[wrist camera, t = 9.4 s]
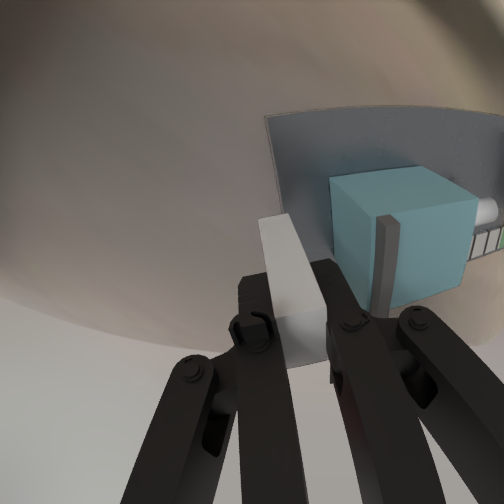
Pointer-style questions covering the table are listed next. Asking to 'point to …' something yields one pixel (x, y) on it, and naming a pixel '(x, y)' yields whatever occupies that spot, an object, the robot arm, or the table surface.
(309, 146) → the rail base
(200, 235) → the table surface
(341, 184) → the block
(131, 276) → the table surface
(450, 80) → the table surface
